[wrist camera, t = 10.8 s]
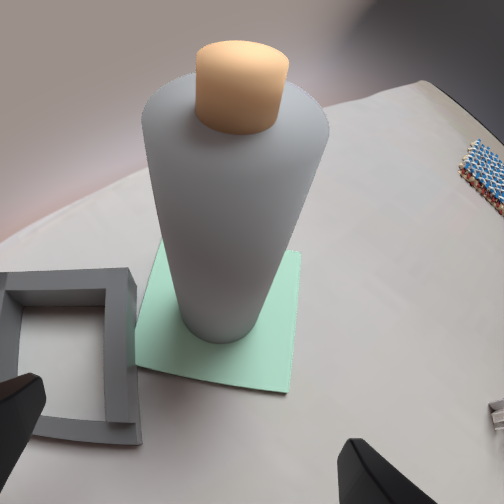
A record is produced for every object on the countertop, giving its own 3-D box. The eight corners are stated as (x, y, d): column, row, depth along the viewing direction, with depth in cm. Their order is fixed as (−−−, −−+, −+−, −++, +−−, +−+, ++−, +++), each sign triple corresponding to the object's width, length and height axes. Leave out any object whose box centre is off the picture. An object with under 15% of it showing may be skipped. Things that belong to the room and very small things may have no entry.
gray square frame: (142, 443, 14) (131, 446, 12) (3, 427, 13) (-19, 424, 10) (136, 286, 19) (128, 267, 17) (12, 289, 17) (-6, 272, 15)
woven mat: (452, 174, 30) (461, 162, 28) (469, 144, 34) (476, 134, 33) (514, 236, 27) (525, 226, 25) (521, 194, 32) (529, 185, 30)
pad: (287, 393, 17) (288, 392, 16) (128, 363, 16) (126, 362, 16) (299, 255, 21) (301, 252, 21) (166, 231, 21) (165, 227, 21)
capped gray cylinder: (194, 354, 17) (150, 135, 4) (170, 281, 19) (128, 36, 6) (271, 329, 18) (388, 108, 6) (242, 261, 20) (289, 24, 8)
